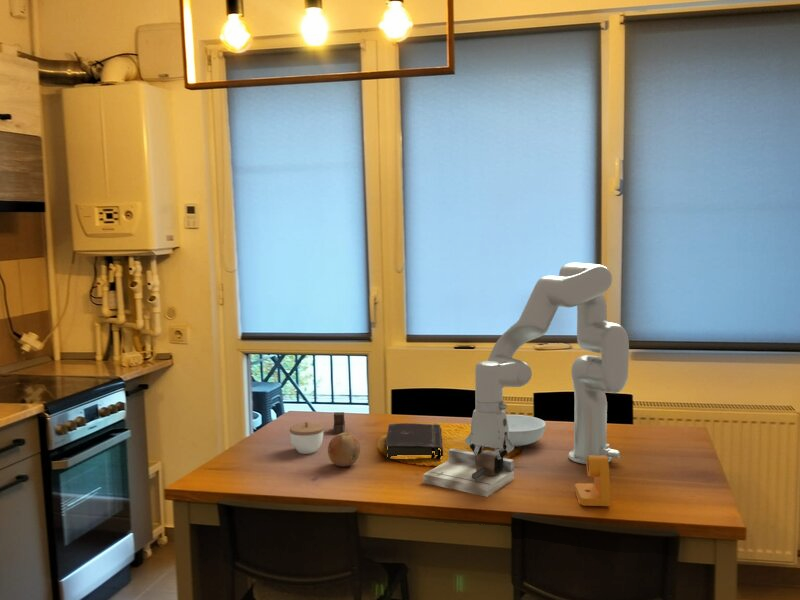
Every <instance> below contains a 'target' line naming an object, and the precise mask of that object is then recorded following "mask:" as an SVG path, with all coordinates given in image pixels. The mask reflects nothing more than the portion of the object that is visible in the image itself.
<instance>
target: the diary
mask: <svg viewBox="0 0 800 600" xmlns="http://www.w3.org/2000/svg"><path fill="white" fill-rule="evenodd" d="M386 432H387V433H386V437H385V442H384V447H387V446H388V450H387V449H386V450H387V451H386V452H387V453H388V457H387V456H386V455H385V456H384V460H385V461H386V460H387V461H388V460H392V459H390V457H391V456H397V455H432V456H433V454H432V451H435V455H438V456H439V450H438V448H440V449H441V456H443V457H444V447H443V435H442V434H443V432H442V428H441V424H439V423H438V424H437V423H435V424H432V423H430V424H429V423H412V422H411V423H407V422H406V423H390V424H388V427H387V431H386ZM392 461H393V460H392Z"/></svg>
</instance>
